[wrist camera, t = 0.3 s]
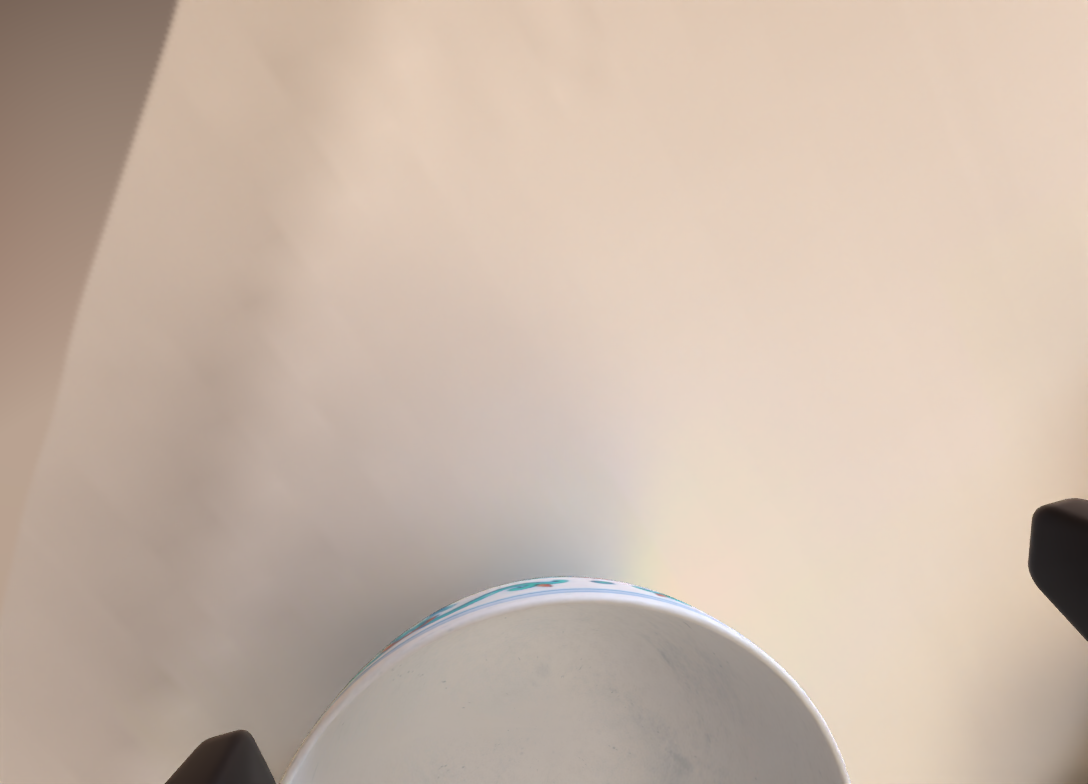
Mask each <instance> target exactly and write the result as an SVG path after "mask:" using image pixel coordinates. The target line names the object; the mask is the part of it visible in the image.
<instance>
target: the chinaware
mask: <svg viewBox="0 0 1088 784" xmlns="http://www.w3.org/2000/svg"><path fill="white" fill-rule="evenodd" d="M279 784H851V782H850V779H849V775H848V772H847V769H846V766H845V763H844V760H843V758H842V755H841V753H840V750H839V748H838V746H837V743H836V741H835V739H834V737H833V735H832V733H831V731H830V729H829V727H828V726H827V724H826V722H825V721H824V719H823V717H822V716H821V714H820V713H819V711H818V710H817V708H816V707H815V705H814V704H813V702H812V701H811V700H810V698H809V697H808V696H807V694H806V693H805V692H804V691H803V689H802V688H801V687H800V686H799V685H798V683H797V682H796V681H795V680H794V679H793V678H792V677H791V676H790V675H789V674H788V673H787V672H786V671H785V670H784V669H783V668H782V667H781V666H780V665H779V664H778V663H777V662H776V661H775V660H773V659H772V658H771V657H770V656H769V655H768V654H767V653H765V652H764V651H763V650H762V649H760V648H759V647H758V646H756V645H755V644H754V643H752V642H751V641H750V640H748V639H747V638H745V637H744V636H742V635H741V634H739V633H738V632H736V631H735V630H733V629H732V628H730V627H728V626H727V625H725V624H724V623H722V622H720V621H719V620H717V619H715V618H713V617H712V616H710V615H708V614H706V613H704V612H702V611H700V610H699V609H696V608H694V607H692V606H690V605H688V604H686V603H684V602H682V601H679V600H677V599H674V598H672V597H670V596H667V595H664V594H661V593H659V592H656V591H653V590H650V589H646V588H643V587H640V586H636V585H632V584H628V583H623V582H618V581H613V580H607V579H600V578H591V577H574V576H560V577H544V578H535V579H528V580H522V581H517V582H512V583H507V584H503V585H499V586H496V587H493V588H489V589H486V590H483V591H480V592H478V593H475V594H472V595H470V596H467V597H465V598H463V599H460V600H458V601H456V602H454V603H452V604H450V605H448V606H446V607H444V608H442V609H440V610H438V611H437V612H435V613H433V614H431V615H430V616H428V617H426V618H425V619H423V620H422V621H420V622H418V623H417V624H415V625H414V626H413V627H411V628H410V629H408V630H407V631H405V632H404V633H403V634H401V635H400V636H399V637H398V638H396V639H395V640H394V641H392V642H391V643H390V644H389V645H388V646H386V647H385V648H384V649H383V650H382V651H381V652H379V653H378V654H377V655H376V656H375V657H374V658H373V659H372V660H371V661H370V662H369V663H368V664H366V665H365V666H364V667H363V668H362V670H361V671H360V672H359V673H358V674H357V675H356V676H355V677H354V678H353V679H352V680H351V681H350V682H349V683H348V684H347V685H346V687H345V688H344V689H343V690H342V691H341V692H340V693H339V695H338V696H337V697H336V698H335V699H334V701H333V702H332V703H331V704H330V706H329V707H328V708H327V709H326V711H325V712H324V713H323V714H322V716H321V717H320V719H319V720H318V721H317V723H316V724H315V725H314V727H313V728H312V730H311V731H310V732H309V734H308V735H307V737H306V738H305V740H304V741H303V743H302V744H301V746H300V747H299V749H298V750H297V752H296V754H295V756H294V757H293V759H292V761H291V762H290V764H289V766H288V768H287V770H286V772H285V773H284V775H283V777H282V779H281V781H280V783H279Z"/></svg>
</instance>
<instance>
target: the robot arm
mask: <svg viewBox="0 0 1088 784" xmlns="http://www.w3.org/2000/svg"><path fill="white" fill-rule="evenodd" d="M1028 567H1029V572H1030V574H1031V577H1032V579H1033V581H1034V582H1035V584H1036V585H1037V587H1038V588H1039V589H1040V590H1041V591H1042V592H1043V593H1044V595H1045V596H1046V597H1047V598H1048V599H1049V600H1050V601H1051V602H1052V603H1053V604H1054V605H1055V606H1056V608H1057V609H1058V610H1059V611H1060V612H1061V613H1062V614H1063V615H1064V616H1065V617H1066V618H1067V620H1068V621H1069V622H1070V623H1071V624H1072V625H1073V626H1074V627H1075V628H1076V629H1077V630H1078V631H1079V633H1080V634H1081V635H1082V636H1083V637H1084V638H1085V639H1086V640H1087V641H1088V500H1084V499H1078V498H1071V499H1065V500H1061V501H1058V502H1054V503H1051V504H1047V505H1044V506H1041V507H1039V508H1038V509H1037V510H1036V511H1035V513H1034V514H1033V517H1032V525H1031V536H1030V548H1029V559H1028ZM165 784H276V782H275V780H274V778H273V776H272V774H271V772H270V770H269V768H268V766H267V764H266V762H265V760H264V758H263V756H262V754H261V752H260V750H259V748H258V746H257V744H256V742H255V740H254V738H253V737H252V735H251V734H250V733H249V732H248V731H245V730H237V731H233V732H230V733H226V734H222V735H219V736H215V737H212V738H209V739H207V740H205V741H204V742H202V743H201V744H200V745H199V746H198V747H197V748H196V749H195V750H194V752H193V753H192V754H191V755H190V756H189V757H188V758H187V759H186V760H185V762H184V763H183V764H182V765H181V766H180V767H179V768H178V769H177V771H176V772H175V773H174V774H173V775H172V776H171V777H170V778H169V779H168V781H167V782H166V783H165Z"/></svg>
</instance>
